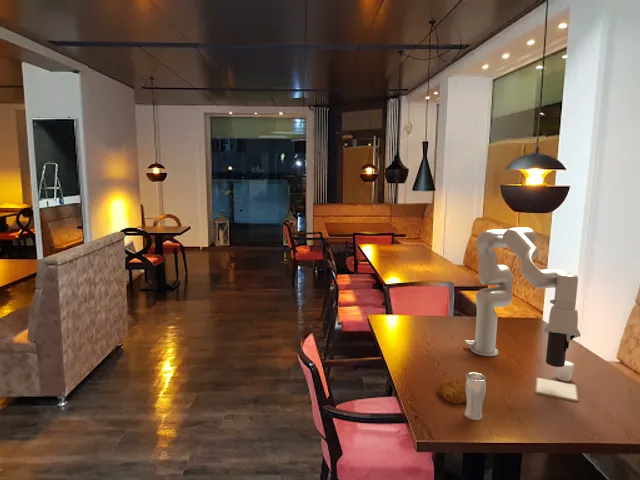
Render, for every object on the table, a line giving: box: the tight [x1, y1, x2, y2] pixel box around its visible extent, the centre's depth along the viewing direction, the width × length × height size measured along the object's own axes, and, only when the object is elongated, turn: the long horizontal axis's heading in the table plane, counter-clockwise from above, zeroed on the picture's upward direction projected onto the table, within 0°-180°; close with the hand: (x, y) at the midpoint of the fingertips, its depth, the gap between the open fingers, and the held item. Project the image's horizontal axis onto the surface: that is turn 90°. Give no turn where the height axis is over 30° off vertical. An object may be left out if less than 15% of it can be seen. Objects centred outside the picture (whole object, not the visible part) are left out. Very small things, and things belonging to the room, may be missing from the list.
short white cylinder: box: [555, 359, 575, 382], centre depth 201 cm, size 7×7×7 cm
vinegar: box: [545, 331, 567, 368], centre depth 188 cm, size 7×7×20 cm
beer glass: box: [464, 372, 487, 421], centre depth 168 cm, size 7×7×15 cm
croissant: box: [437, 376, 466, 405], centre depth 184 cm, size 14×16×8 cm
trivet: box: [534, 376, 579, 403], centre depth 190 cm, size 15×15×1 cm
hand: (560, 348), depth 188 cm, fingers closed on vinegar, 2 cm apart
